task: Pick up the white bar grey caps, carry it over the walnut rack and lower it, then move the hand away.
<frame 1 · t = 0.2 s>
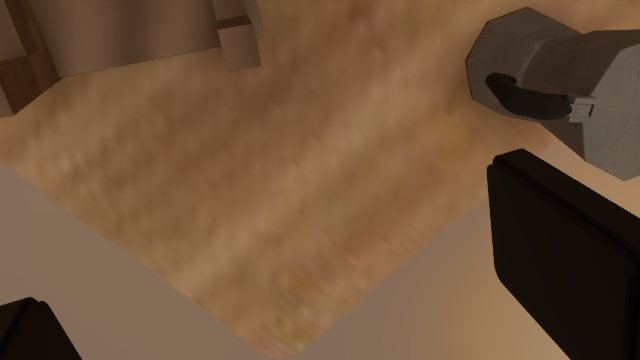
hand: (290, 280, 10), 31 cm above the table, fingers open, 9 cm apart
coffeepot: (500, 61, 43), on the table
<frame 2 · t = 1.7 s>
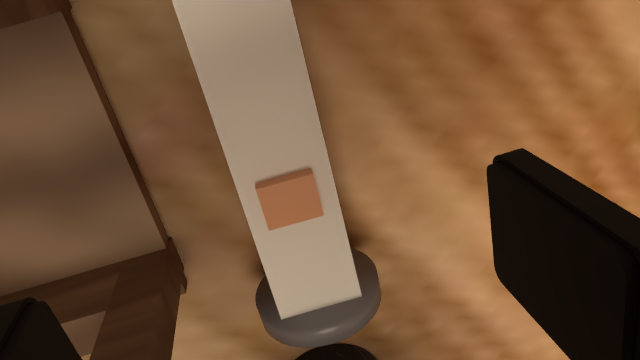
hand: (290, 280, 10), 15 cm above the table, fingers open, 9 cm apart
white bar grey caps: (263, 97, 24), on the table
walnut rack: (20, 164, 23), on the table
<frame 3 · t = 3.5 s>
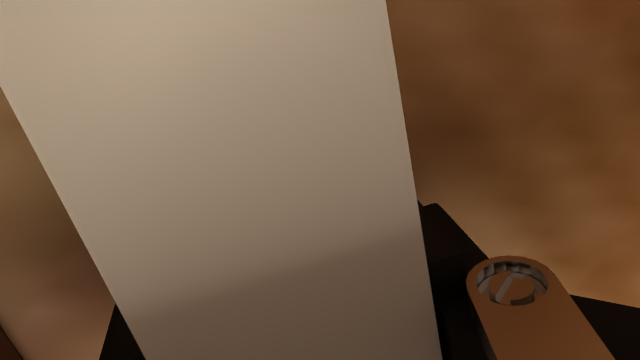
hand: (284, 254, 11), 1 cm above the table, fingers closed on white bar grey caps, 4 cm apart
white bar grey caps: (278, 230, 12), on the table, touching gripper
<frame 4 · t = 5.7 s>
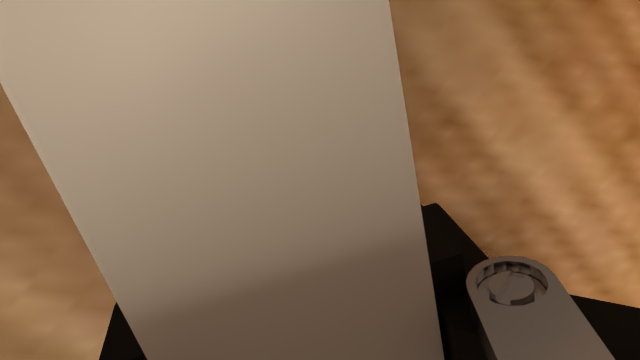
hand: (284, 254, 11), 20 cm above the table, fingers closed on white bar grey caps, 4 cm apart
white bar grey caps: (279, 230, 12), point 19 cm above the table, touching gripper
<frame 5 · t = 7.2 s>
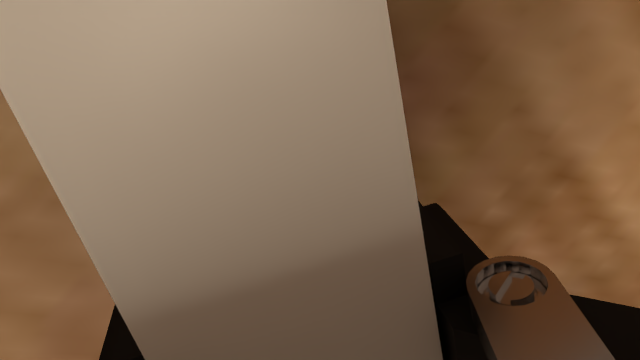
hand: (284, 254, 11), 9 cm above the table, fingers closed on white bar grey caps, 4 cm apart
white bar grey caps: (278, 230, 12), point 8 cm above the table, touching gripper
when the fingers open (6 cm above the table, at t = 8.2 s): white bar grey caps stays where it is, resting on walnut rack.
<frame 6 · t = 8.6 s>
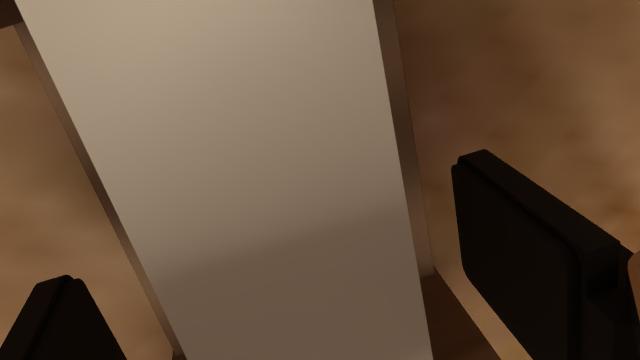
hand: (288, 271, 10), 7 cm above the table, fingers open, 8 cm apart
white bar grey caps: (279, 211, 13), point 4 cm above the table, touching walnut rack
walnut rack: (261, 160, 16), on the table
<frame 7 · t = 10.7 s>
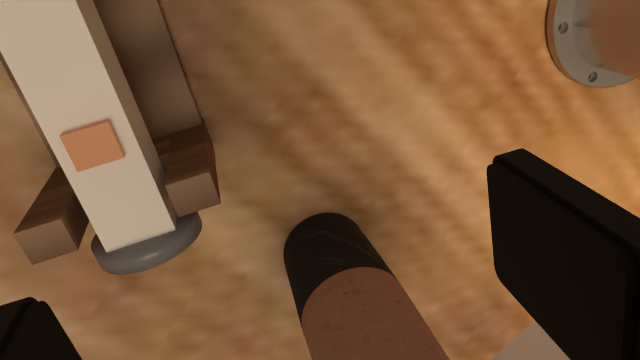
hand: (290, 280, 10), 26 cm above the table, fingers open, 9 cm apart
white bar grey caps: (87, 68, 28), point 4 cm above the table, touching walnut rack
walnut rack: (95, 57, 32), on the table
travel mug: (323, 248, 42), on the table
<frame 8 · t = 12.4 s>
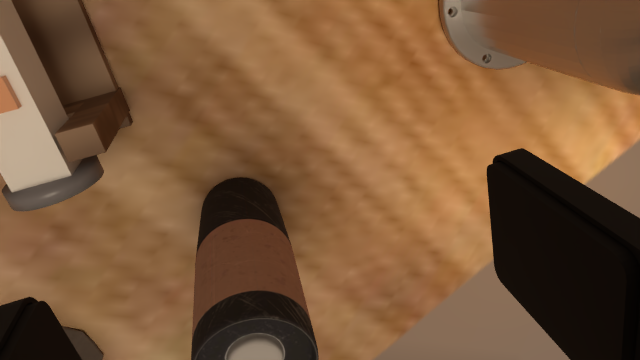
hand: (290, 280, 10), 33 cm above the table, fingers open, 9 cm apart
white bar grey caps: (2, 35, 33), point 4 cm above the table, touching walnut rack
walnut rack: (20, 29, 37), on the table
coffeepot: (53, 350, 49), on the table
travel mug: (240, 210, 46), on the table
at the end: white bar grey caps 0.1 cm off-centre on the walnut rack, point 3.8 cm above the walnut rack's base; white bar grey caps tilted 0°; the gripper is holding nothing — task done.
